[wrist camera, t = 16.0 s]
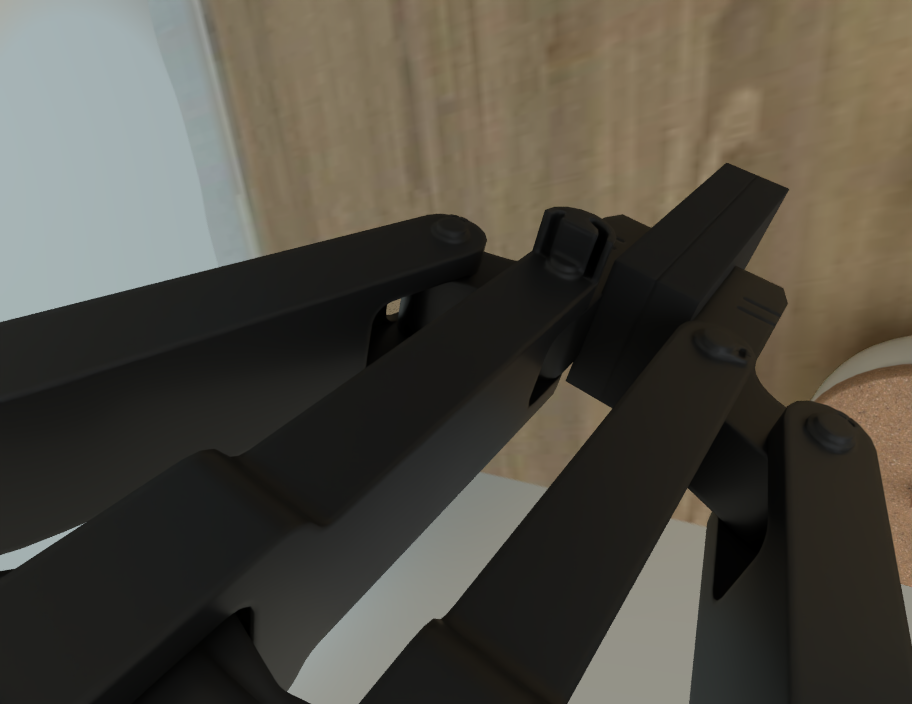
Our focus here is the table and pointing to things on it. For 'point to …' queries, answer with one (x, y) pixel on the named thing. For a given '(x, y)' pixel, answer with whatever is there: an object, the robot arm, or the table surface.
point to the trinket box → (883, 426)
